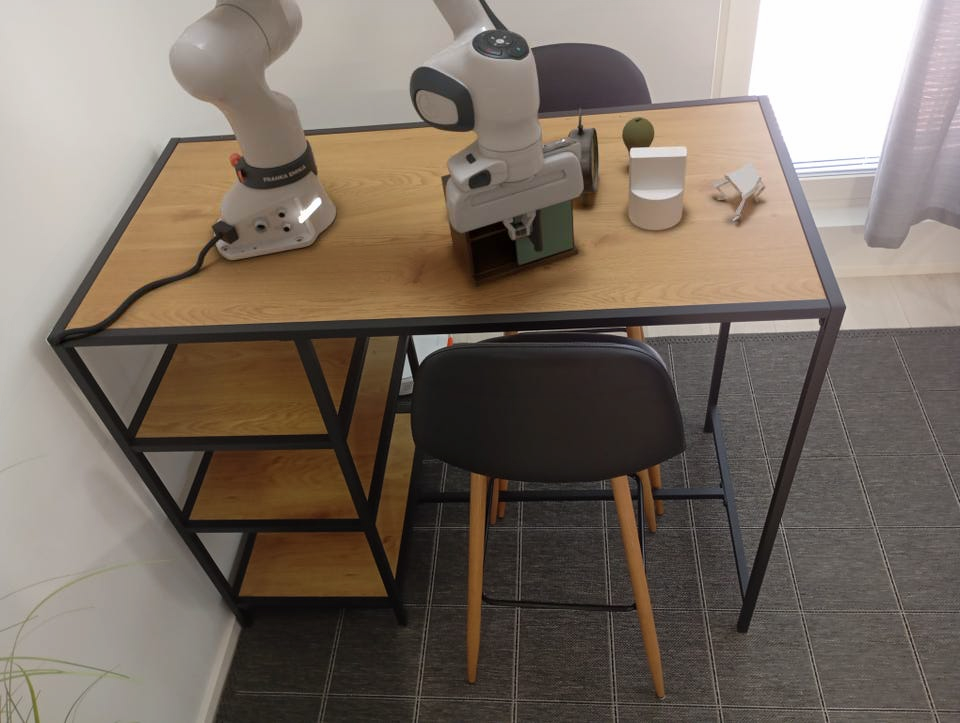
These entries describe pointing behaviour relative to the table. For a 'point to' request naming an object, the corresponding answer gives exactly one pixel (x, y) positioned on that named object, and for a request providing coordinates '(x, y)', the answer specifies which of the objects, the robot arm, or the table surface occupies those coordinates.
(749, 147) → the table surface
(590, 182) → the alarm clock
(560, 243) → the green sliding door
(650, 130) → the olive green rounded piece
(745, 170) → the white flat-topped legged piece
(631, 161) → the base with upright slab
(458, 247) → the brown wooden cabinet
